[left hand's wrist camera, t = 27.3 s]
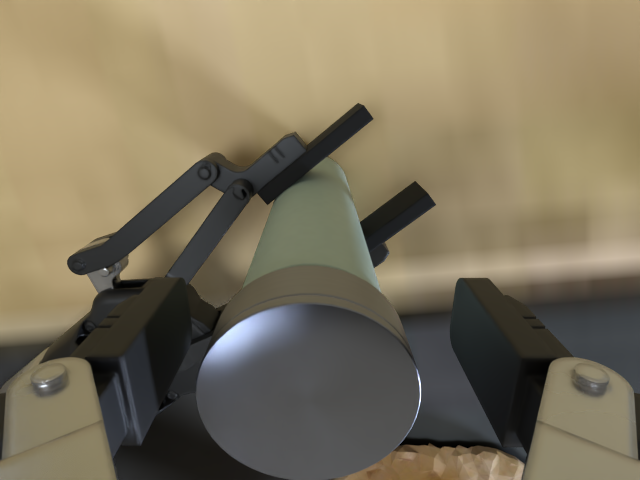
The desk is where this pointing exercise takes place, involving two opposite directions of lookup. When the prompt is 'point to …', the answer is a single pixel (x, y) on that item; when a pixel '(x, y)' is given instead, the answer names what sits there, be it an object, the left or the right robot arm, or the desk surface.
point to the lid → (308, 375)
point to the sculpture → (442, 464)
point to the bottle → (314, 228)
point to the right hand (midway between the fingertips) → (395, 153)
